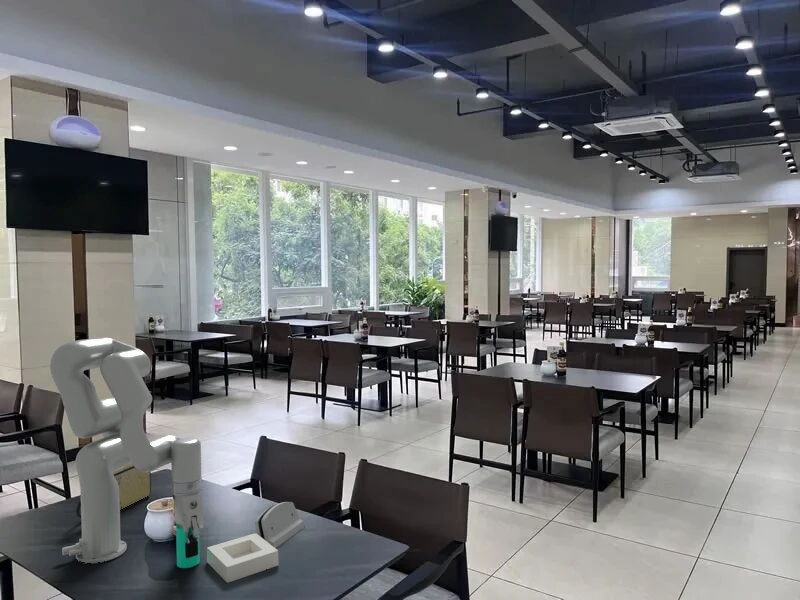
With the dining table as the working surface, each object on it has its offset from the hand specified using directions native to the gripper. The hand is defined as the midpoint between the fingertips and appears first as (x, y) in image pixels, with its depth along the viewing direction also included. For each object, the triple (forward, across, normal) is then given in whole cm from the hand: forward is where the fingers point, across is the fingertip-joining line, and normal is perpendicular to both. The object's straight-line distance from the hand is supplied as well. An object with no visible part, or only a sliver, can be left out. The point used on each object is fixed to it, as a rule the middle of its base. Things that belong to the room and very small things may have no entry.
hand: (188, 551), depth 154 cm
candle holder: (+3, -10, -11) cm, 15 cm away
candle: (+3, 0, 0) cm, 3 cm away
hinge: (+3, 0, -27) cm, 27 cm away
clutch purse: (+3, +53, +7) cm, 53 cm away
